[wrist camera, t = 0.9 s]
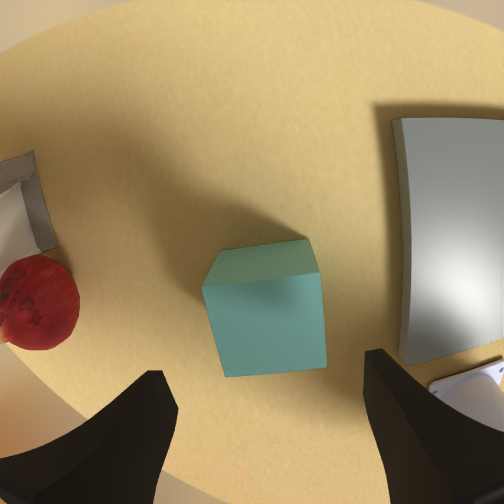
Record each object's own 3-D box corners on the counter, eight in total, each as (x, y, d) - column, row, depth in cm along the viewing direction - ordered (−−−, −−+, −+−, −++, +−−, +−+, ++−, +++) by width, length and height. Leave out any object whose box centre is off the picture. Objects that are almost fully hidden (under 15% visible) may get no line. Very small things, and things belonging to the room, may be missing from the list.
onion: (35, 233, 19) (-45, 275, 11) (99, 249, 19) (19, 305, 11) (42, 304, 21) (-22, 359, 13) (101, 325, 21) (42, 396, 13)
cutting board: (536, 312, 18) (546, 320, 16) (398, 353, 19) (404, 366, 18) (549, 126, 13) (562, 127, 12) (391, 120, 15) (401, 118, 14)
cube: (316, 316, 19) (326, 366, 14) (236, 325, 20) (225, 377, 15) (308, 238, 18) (319, 272, 13) (220, 250, 18) (201, 287, 13)
